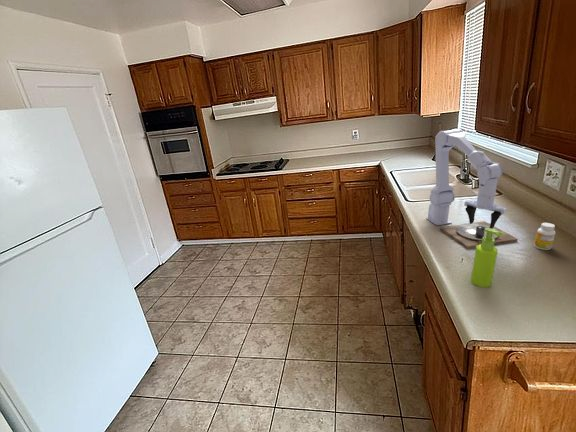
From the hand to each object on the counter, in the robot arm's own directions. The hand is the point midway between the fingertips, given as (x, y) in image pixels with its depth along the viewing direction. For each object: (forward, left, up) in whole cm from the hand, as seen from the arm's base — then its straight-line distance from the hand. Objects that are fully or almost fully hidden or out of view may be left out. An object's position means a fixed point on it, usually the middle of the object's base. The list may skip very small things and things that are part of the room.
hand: (481, 225), depth 124 cm
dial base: (-6, +3, -8) cm, 10 cm away
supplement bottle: (+10, +19, -8) cm, 23 cm away
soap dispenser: (+25, -18, -8) cm, 32 cm away
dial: (-6, +3, -6) cm, 9 cm away
